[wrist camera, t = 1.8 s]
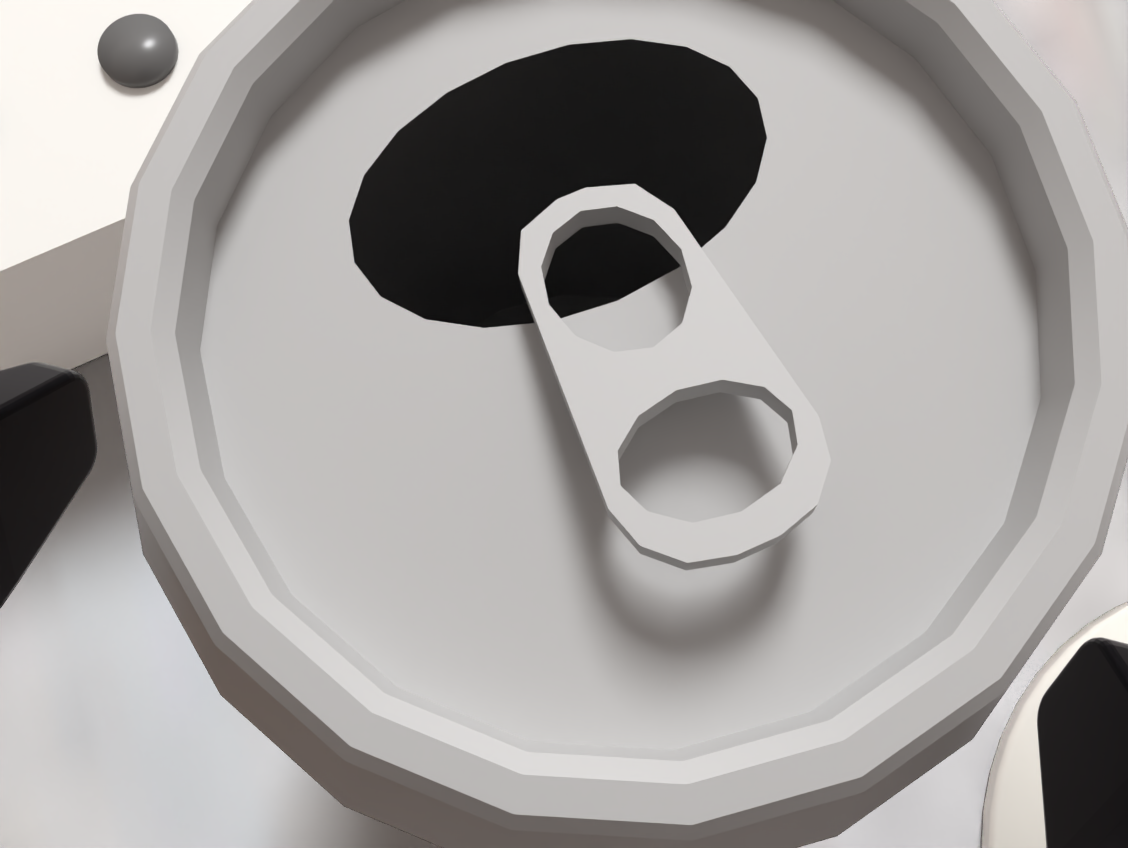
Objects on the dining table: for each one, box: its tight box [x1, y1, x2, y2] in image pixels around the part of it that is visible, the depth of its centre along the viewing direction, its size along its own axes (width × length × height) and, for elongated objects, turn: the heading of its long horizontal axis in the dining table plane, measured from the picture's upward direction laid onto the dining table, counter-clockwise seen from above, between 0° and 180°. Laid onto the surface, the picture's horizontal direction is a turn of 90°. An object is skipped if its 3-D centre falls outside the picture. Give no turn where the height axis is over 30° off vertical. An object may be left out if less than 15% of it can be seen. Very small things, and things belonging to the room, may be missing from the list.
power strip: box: [0, 0, 252, 370], centre depth 16 cm, size 5×14×5 cm, turn 116°
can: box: [106, 0, 1128, 848], centre depth 11 cm, size 8×8×12 cm
